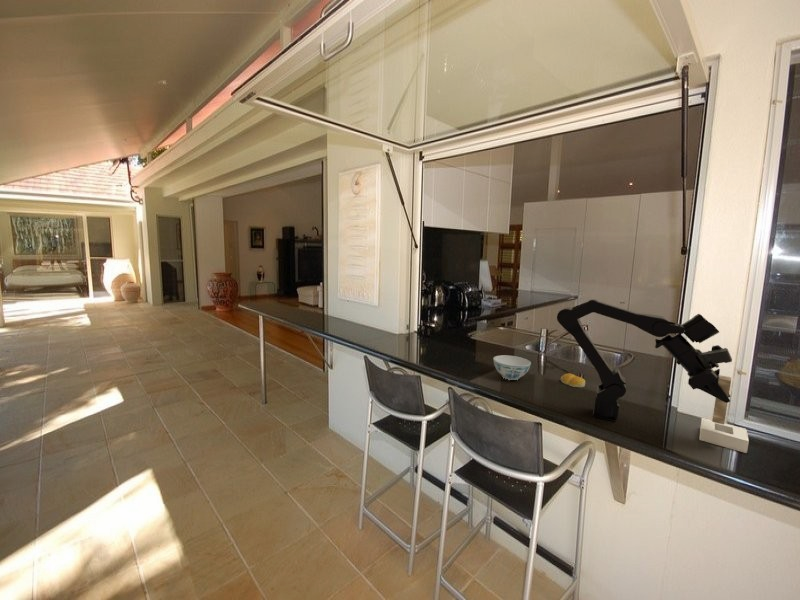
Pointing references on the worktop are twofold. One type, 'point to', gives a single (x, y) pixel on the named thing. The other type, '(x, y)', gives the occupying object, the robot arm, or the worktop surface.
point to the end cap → (724, 435)
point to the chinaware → (511, 366)
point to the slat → (719, 404)
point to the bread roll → (573, 380)
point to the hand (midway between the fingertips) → (728, 399)
